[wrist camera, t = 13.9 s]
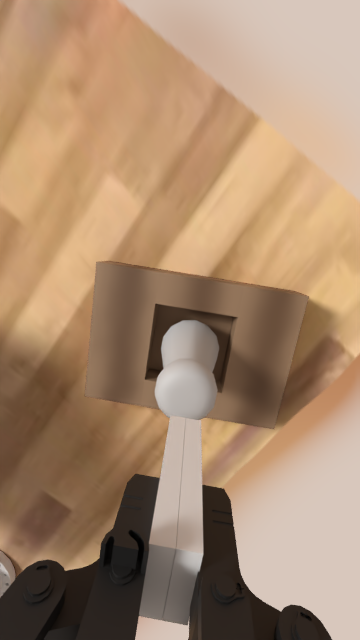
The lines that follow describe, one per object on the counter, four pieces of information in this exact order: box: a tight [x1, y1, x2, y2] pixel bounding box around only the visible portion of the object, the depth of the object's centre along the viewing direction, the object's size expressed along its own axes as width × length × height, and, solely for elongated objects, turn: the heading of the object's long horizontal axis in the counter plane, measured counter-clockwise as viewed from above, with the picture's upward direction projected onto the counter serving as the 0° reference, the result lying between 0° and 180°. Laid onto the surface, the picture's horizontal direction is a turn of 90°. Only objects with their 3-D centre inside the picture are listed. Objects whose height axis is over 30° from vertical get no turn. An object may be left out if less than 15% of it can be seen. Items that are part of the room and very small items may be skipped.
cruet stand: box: [85, 261, 309, 429], centre depth 30 cm, size 20×14×4 cm
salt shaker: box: [155, 320, 219, 420], centre depth 25 cm, size 6×6×13 cm
